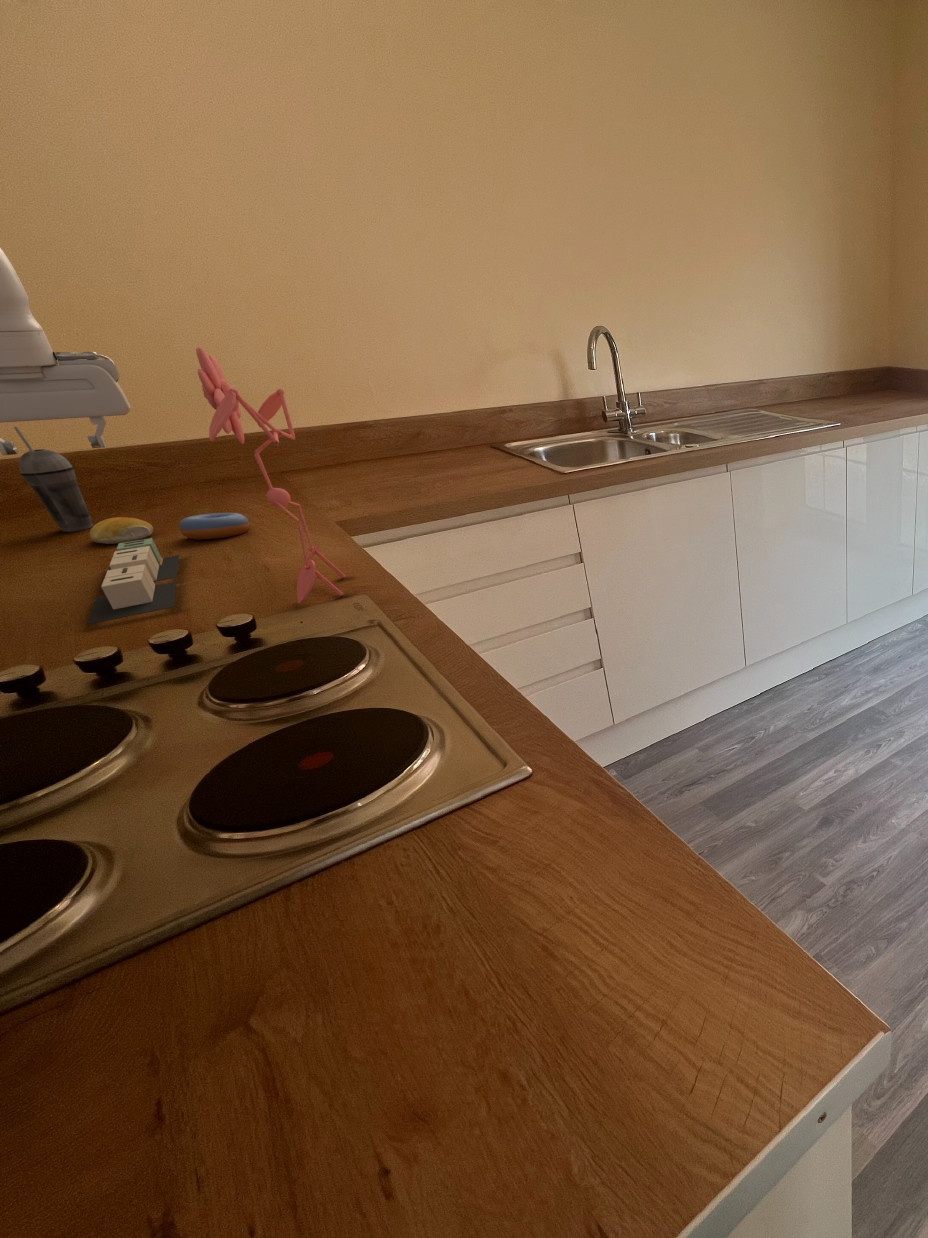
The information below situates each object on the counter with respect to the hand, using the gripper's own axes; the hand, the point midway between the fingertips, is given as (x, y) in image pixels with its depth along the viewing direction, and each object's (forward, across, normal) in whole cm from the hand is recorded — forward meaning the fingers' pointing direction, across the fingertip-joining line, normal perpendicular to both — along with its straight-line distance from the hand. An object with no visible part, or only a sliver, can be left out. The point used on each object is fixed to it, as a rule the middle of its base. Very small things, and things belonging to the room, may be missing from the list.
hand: (56, 450), depth 106 cm
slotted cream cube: (+20, -3, +8) cm, 22 cm away
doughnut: (+20, -14, -15) cm, 28 cm away
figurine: (+20, -21, +31) cm, 43 cm away
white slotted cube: (+20, -3, +15) cm, 25 cm away
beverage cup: (+20, +8, -43) cm, 48 cm away
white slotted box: (+20, -3, +20) cm, 28 cm away
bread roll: (+20, 0, -27) cm, 34 cm away
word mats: (+20, -3, +11) cm, 23 cm away
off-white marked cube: (+20, -3, +4) cm, 20 cm away
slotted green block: (+19, -4, -2) cm, 20 cm away
